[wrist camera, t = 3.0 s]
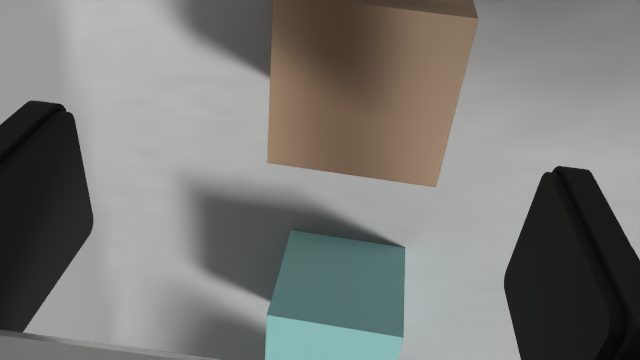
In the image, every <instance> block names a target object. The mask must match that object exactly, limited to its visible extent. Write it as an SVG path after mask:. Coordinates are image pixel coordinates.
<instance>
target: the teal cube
mask: <svg viewBox="0 0 640 360" xmlns="http://www.w3.org/2000/svg"><path fill="white" fill-rule="evenodd" d="M404 278H405V247H398V246H392V245H385V244H379V243H372V242H366V241H359V240H353V239H346V238H340V237H333V236H327V235H320V234H314V233H307V232H301V231H295V230H291V232H290V236H289V239H288V243H287V246H286V250H285V253H284V257H283V260H282V264H281V267H280V271H279V274H278V278H277V281H276V285H275V288H274V292H273V295H272V299H271V302H270V306H269V309H268V313H267V323H266V347H265V360H398V356H399V352H400V349H401V345H402V341H403V329H404Z"/></svg>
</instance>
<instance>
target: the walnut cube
mask: <svg viewBox="0 0 640 360" xmlns="http://www.w3.org/2000/svg"><path fill="white" fill-rule="evenodd" d="M477 21H478V17H477V13H476V10H475V6H474V3H473V0H273V8H272V39H271V69H270V99H269V130H268V160H267V163H272V164H279V165H286V166H293V167H300V168H306V169H313V170H320V171H327V172H334V173H341V174H348V175H355V176H362V177H368V178H375V179H382V180H389V181H396V182H403V183H410V184H417V185H423V186H430V187H436V185H437V181H438V177H439V173H440V169H441V165H442V161H443V157H444V153H445V149H446V145H447V141H448V137H449V133H450V129H451V125H452V121H453V117H454V113H455V109H456V105H457V101H458V97H459V93H460V89H461V85H462V81H463V77H464V73H465V69H466V65H467V61H468V57H469V53H470V49H471V45H472V41H473V37H474V33H475V29H476V25H477Z"/></svg>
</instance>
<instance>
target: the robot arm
mask: <svg viewBox="0 0 640 360" xmlns="http://www.w3.org/2000/svg"><path fill="white" fill-rule="evenodd" d="M92 227H93V213H92V208H91V203H90V198H89V192H88V187H87V182H86V177H85V171H84V166H83V161H82V156H81V150H80V145H79V140H78V135H77V129H76V124H75V119H74V116H73V115H72V114H71V113H70V112H66V109H65V108H64V106H63V105H61V104H57V103H49V102H41V101H29V102H27V103H26V104H25V105H23V106H22V107H21V108H20V109H19V110H17V111H16V112H15V113H14V114H13V115H12V116H10V117H9V118H8V119H7V120H6V121H4V122H3V123H2V124H1V125H0V360H221V359H214V358H206V357H199V356H192V355H185V354H178V353H170V352H163V351H156V350H149V349H141V348H134V347H126V346H119V345H111V344H104V343H96V342H89V341H81V340H73V339H67V338H59V337H52V336H44V335H37V334H29V333H23V331H24V330H25V328H26V327H27V325H28V324H29V322H30V321H31V319H32V318H33V317H34V315H35V314H36V312H37V311H38V309H39V308H40V306H41V305H42V303H43V302H44V301H45V299H46V297H47V296H48V295H49V293H50V292H51V290H52V289H53V287H54V286H55V284H56V283H57V281H58V280H59V279H60V277H61V276H62V274H63V273H64V271H65V270H66V268H67V267H68V265H69V264H70V263H71V261H72V260H73V258H74V257H75V255H76V254H77V252H78V251H79V250H80V248H81V247H82V245H83V244H84V242H85V241H86V239H87V238H88V236H89V235H90V233H91V230H92ZM504 289H505V294H506V298H507V302H508V307H509V311H510V315H511V319H512V323H513V328H514V332H515V336H516V340H517V344H518V349H519V353H520V357H521V360H640V260H639V258H638V256H637V255H636V253H635V251H634V249H633V248H632V246H631V245H630V243H629V241H628V239H627V237H626V235H625V234H624V232H623V230H622V228H621V226H620V224H619V223H618V221H617V219H616V217H615V215H614V213H613V212H612V210H611V208H610V206H609V204H608V202H607V201H606V199H605V197H604V195H603V193H602V191H601V190H600V188H599V186H598V184H597V182H596V180H595V179H594V177H593V175H592V173H591V172H590V171H589V170H586V169H578V168H570V167H562V166H557V167H556V168H555V169H554V170H553V172H552V173H551V172H546V173H544V174H543V176H542V178H541V180H540V183H539V186H538V188H537V191H536V193H535V196H534V199H533V201H532V204H531V207H530V209H529V212H528V214H527V217H526V220H525V222H524V225H523V228H522V230H521V233H520V236H519V238H518V241H517V243H516V246H515V249H514V251H513V254H512V257H511V259H510V262H509V265H508V267H507V270H506V273H505V278H504Z"/></svg>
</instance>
